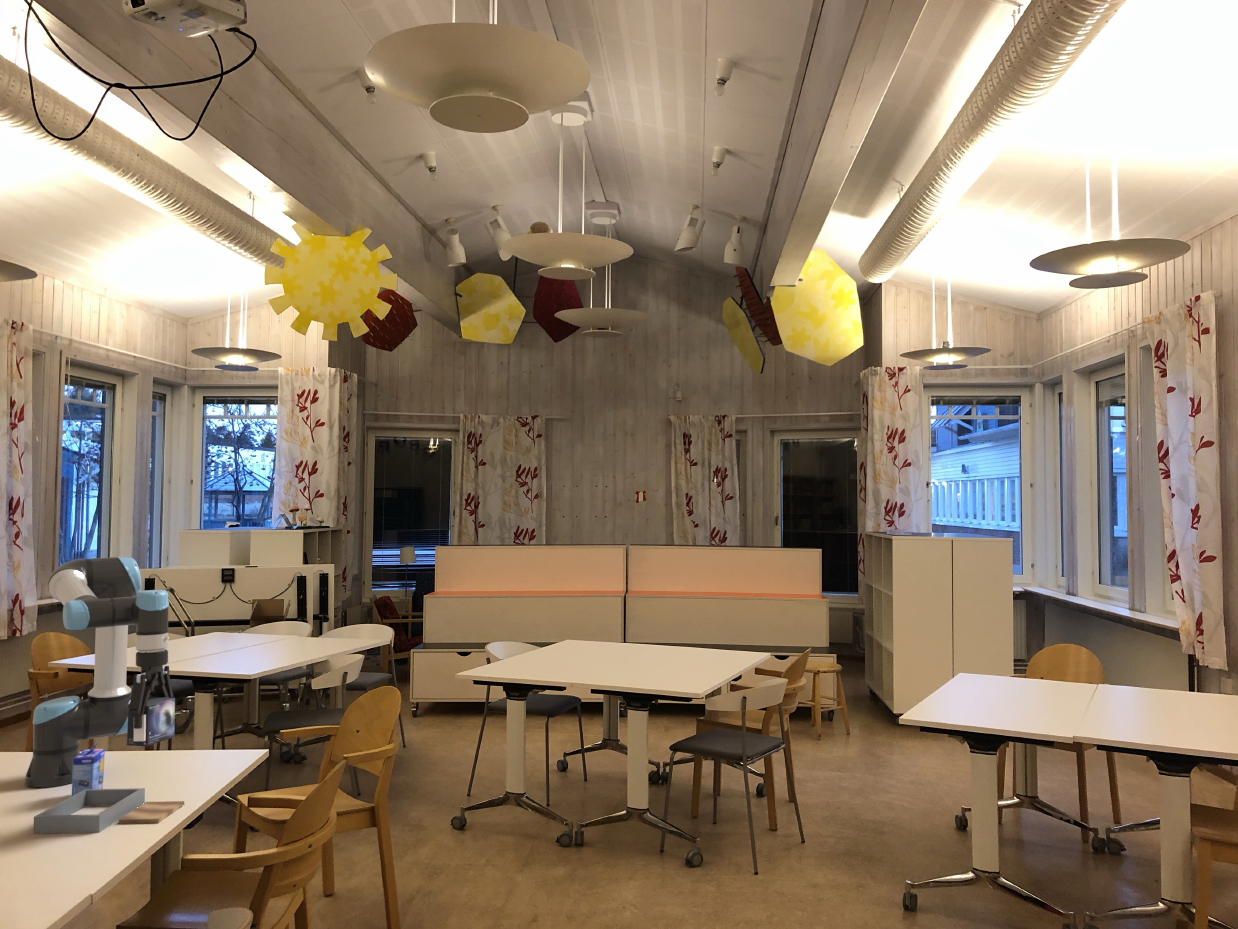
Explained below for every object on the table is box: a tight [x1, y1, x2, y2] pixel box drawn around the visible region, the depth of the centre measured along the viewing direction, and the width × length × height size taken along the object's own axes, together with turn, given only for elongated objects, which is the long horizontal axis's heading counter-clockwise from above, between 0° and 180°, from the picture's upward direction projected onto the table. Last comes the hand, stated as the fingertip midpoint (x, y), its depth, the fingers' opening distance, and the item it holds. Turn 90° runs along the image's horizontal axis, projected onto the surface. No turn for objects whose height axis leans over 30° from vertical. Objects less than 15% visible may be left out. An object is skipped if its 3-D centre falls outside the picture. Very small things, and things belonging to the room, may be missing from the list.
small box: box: [126, 696, 176, 747], centre depth 239 cm, size 11×6×10 cm, turn 168°
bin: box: [33, 787, 146, 834], centre depth 236 cm, size 22×16×4 cm
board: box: [118, 800, 185, 825], centre depth 238 cm, size 14×10×1 cm
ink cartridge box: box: [71, 742, 106, 797], centre depth 253 cm, size 10×6×14 cm, turn 13°
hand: (151, 735), depth 239 cm, fingers closed on small box, 11 cm apart
